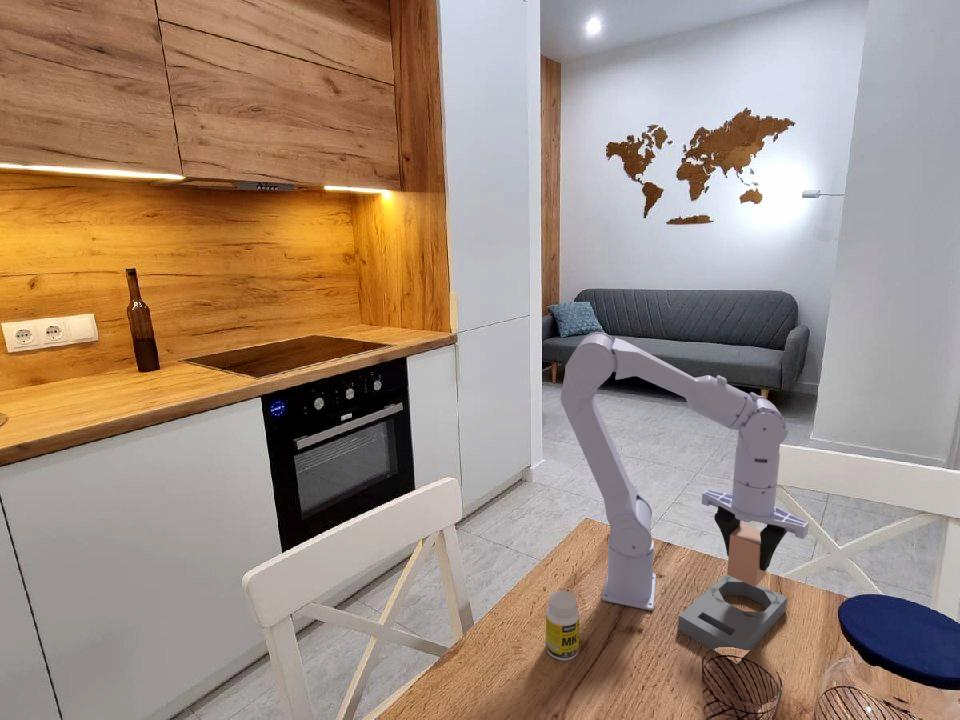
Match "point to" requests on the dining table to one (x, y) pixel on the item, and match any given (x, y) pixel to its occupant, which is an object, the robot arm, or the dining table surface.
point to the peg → (745, 555)
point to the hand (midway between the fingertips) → (747, 560)
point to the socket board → (731, 615)
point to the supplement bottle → (562, 626)
